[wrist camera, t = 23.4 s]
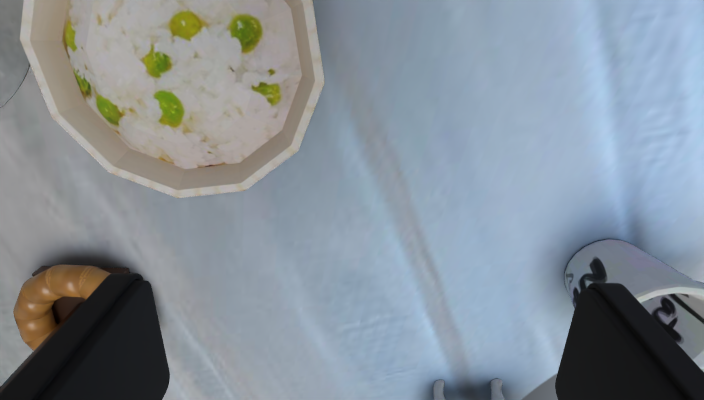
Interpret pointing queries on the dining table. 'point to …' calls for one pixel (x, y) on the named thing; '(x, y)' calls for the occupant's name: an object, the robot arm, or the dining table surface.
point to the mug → (645, 289)
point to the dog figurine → (496, 386)
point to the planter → (11, 49)
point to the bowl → (179, 85)
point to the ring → (51, 298)
